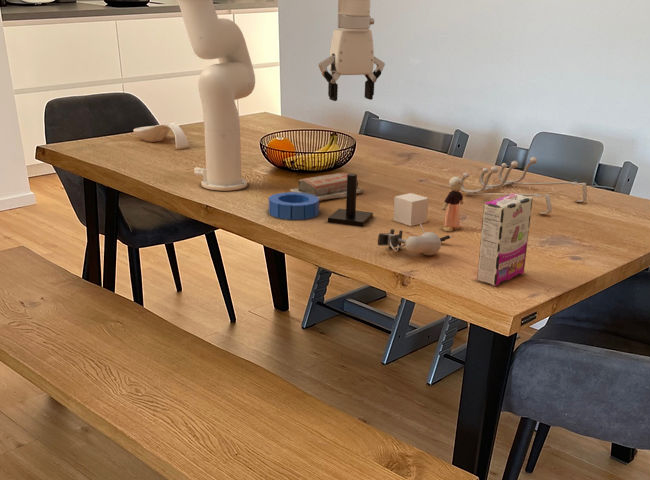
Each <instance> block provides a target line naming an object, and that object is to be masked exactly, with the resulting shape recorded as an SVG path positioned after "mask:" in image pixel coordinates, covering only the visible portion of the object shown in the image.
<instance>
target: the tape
mask: <svg viewBox="0 0 650 480" xmlns="http://www.w3.org/2000/svg"><path fill="white" fill-rule="evenodd" d="M267 199H268V201H267V202H268V213H269V215H270V216H271V217H274V218H277V219H281V220H287V221H289V220H292V221H301V220H303V221H304V220H309V219H313V218H314V219H315V218H316V217H317V216H318V215H320V201H319V199H318V197H316V196H314V195H311V194H308V193H300V192H297V193H296V192H290V191H288V192H287V191H286V192H279V193H274V194H271V195H270V196H269V197H268V198H267Z"/></svg>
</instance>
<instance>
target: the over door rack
mask: <svg viewBox="0 0 650 480" xmlns="http://www.w3.org/2000/svg"><path fill="white" fill-rule="evenodd" d="M537 162H538V158H537V157H535V156H532V157H530V159H529V162H528V163H527V164H526V166H525V167H524V170H523V172H522V174H521V177H519V178H518V179H516V180H508V177H510V176H509V175H510V173H511V171H512V170H513V169H516V168H517V167H518V166H519V162H518V161H517V160H513V161H511V163H510V167H509V168H508V169H507V170H506V172H505V174H504V177H503V172H504V170H505V169H506V168H507V167H508V164H507V163H505V162H502V164H501V166H500V167H501V168H500V170H499V168H498V167H497V166H496V165H492V166H491V167H490V171H489V168H488V167H487V166H486V167H483V168H482V172H481V174H480V175H479V183H480V185H481V186H482V187H480V188H477V189H467V188H465V186H464V182H465V180H466V179H468V178H469V177H470V174H469V173H468V172H463V174H462V177H461V179H462V181H463V183H462V184H461V189H460V190H461V191H462V192H464V193H466V194H467V195H468V196H507V195H511V194H512V193H508V192H507V193H506V192H505V193H503V192H501V193H500V192H499V193H498V192H497V193H496V192H495V193H494V192H485V191H488V190H491V189H495V188H500V187H504V186H540V185H541V186H543V185H545V186H546V185H571V186H578V185H579V186H580V185H581V186H582V199H579V200H575V202H576V203H583V202H584V203H585V202H587V200H588V190H587V189H588V188H587V183H586V182H578V181H556V182H555V181H553V182H552V181H551V182H549V181H548V182H521V181H523V180H524V178H525V177H526V175H527V172H528V170H529V169H530V167H531V166H532V165H535V164H537ZM498 170H499V171H498ZM488 172H489V173H488ZM497 173H498V175H497V176H498V179H499V181H500V183H498V184H489V181H490V178H491V176H492V175H493V174H497ZM486 174H487V175H486ZM485 175H486V177H485V180H484V176H485ZM518 194H519V195H525V196H528V197H533V198H541V197H545V202H546V209H547V210H546V211H541V212H540V215H547V214H551V213H552V212H553V210H552V209H553V207H552V200H551V196H550V194H549V193H547V194H542V195H541V193H518Z"/></svg>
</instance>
